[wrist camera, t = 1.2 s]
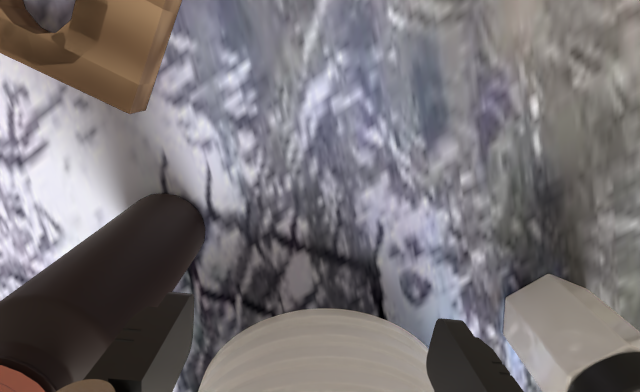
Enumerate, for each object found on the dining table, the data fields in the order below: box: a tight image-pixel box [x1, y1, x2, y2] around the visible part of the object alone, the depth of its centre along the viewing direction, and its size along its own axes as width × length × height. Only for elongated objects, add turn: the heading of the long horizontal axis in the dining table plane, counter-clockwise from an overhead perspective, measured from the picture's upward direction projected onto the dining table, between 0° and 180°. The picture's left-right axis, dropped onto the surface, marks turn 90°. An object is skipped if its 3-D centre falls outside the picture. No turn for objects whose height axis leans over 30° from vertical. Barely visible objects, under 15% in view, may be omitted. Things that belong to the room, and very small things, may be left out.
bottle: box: [0, 193, 205, 392], centre depth 22 cm, size 7×7×20 cm
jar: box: [503, 274, 640, 392], centre depth 29 cm, size 9×8×12 cm
